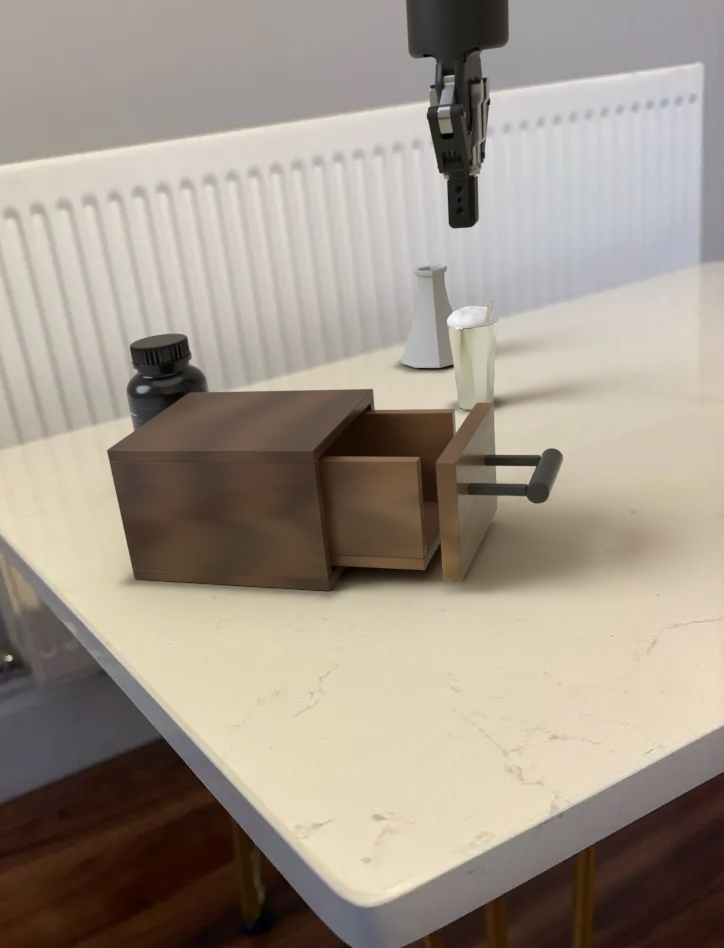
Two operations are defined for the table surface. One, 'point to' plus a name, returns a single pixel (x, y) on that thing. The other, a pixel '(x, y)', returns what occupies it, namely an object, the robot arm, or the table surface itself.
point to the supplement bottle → (161, 376)
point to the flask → (430, 322)
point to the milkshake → (473, 353)
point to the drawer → (419, 488)
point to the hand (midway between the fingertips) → (464, 226)
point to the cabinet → (233, 487)
